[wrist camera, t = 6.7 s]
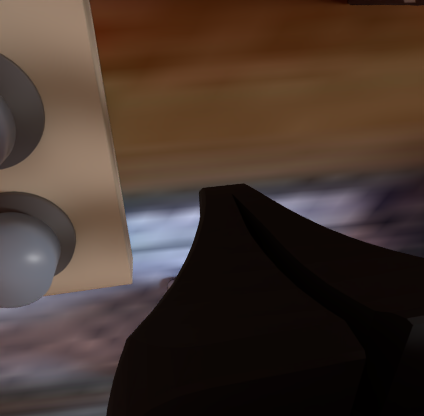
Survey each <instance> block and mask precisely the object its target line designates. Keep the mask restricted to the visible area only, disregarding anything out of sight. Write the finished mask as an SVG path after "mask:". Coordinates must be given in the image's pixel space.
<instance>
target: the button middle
mask: <svg viewBox="0 0 424 416" xmlns="http://www.w3.org/2000/svg"><path fill="white" fill-rule="evenodd" d="M15 139H16V127H15V122H14V118H13V115H12V112H11V110H10V108H9V107H8V105H7V103H6V102H5V100H4V99H3V98H2V96H1V95H0V165H1V164H2V163H3V161H4V160H5V159H6V158H7V157H8V156H9V154H10V153H11V151H12V149H13V146H14V143H15Z"/></svg>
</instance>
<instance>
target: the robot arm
mask: <svg viewBox="0 0 424 416" xmlns="http://www.w3.org/2000/svg"><path fill="white" fill-rule="evenodd" d="M199 201H200V221H199V225H198V228H197V232H196V235H195V238H194V241H193V244H192V247H191V249H190V252H189V254H188V256H187V258H186V260H185V262H184V264H183V266H182V268H181V270H180V272H179V273H178V275H177V277H176V279H175V280H171V281H170V282H169V283H168V286H167V287H168V291H167V292H166V293H165V295H164V296H163V298H162V299H161V300H160V302H159V303H158V304H157V306H156V307H155V308H154V310H153V311H152V312H151V313H150V314H149V315H148V316H147V318H146V319H145V320H144V321H143V322H142V323H141V324H140V325H139V326H138V327H137V329H136V330H135V331H134V332H133V333H132V334H131V335H130V336H129V337H128V338H127V340H126V343H125V346H124V349H123V352H122V354H121V357H120V360H119V363H118V367H117V370H116V373H115V377H114V380H113V384H112V388H111V393H110V398H109V403H108V408H107V415H106V416H424V258H422V257H417V256H413V255H409V254H405V253H401V252H397V251H393V250H389V249H386V248H383V247H379V246H376V245H373V244H369V243H366V242H363V241H360V240H357V239H354V238H351V237H349V236H346V235H343V234H341V233H338V232H336V231H333V230H331V229H328V228H326V227H324V226H321V225H319V224H317V223H315V222H313V221H311V220H309V219H307V218H305V217H303V216H300V215H299V214H297V213H295V212H293V211H291V210H289V209H287V208H286V207H284V206H282V205H280V204H279V203H277V202H275V201H273V200H272V199H270V198H268V197H267V196H265V195H263V194H262V193H260V192H258V191H257V190H255V189H253V188H251V187H250V186H248V185H246V184H235V185H226V186H216V187H207V188H202V189H201V190H200V191H199Z"/></svg>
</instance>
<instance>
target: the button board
mask: <svg viewBox="0 0 424 416" xmlns="http://www.w3.org/2000/svg"><path fill="white" fill-rule="evenodd" d="M0 95H1V96H2V98H3V99H4V100H5V102H6V103H7V105H8V107H9V108H10V110H11V112H12V115H13V118H14V122H15V127H16V139H15V143H14V146H13V149H12V151H11V153H10V154H9V156H8V157H7V158H6V159H5V160H4V161H3V163H2V164H1V165H0V213H4V212H17V213H23V214H27V215H30V216H33V217H36V218H38V219H40V220H41V221H43V222H44V223H46V224H47V225H48V226H49V227H50V228H51V229H52V230H53V231H54V232H55V234H56V235H57V237H58V239H59V242H60V246H61V254H60V258H59V261H58V264H57V267H56V271H55V274H54V277H53V280H52V283H51V286H50V288H49V290H48V291H47V292H46V294H45V295H44V296H49V295H56V294H63V293H70V292H77V291H84V290H91V289H98V288H105V287H112V286H120V285H127V284H132V271H133V257H132V251H131V245H130V239H129V234H128V228H127V222H126V216H125V210H124V204H123V198H122V192H121V186H120V180H119V174H118V168H117V163H116V157H115V151H114V145H113V139H112V133H111V127H110V121H109V115H108V109H107V103H106V97H105V91H104V86H103V80H102V74H101V68H100V62H99V56H98V50H97V44H96V38H95V32H94V26H93V20H92V15H91V9H90V3H89V0H0Z"/></svg>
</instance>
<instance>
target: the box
mask: <svg viewBox="0 0 424 416" xmlns="http://www.w3.org/2000/svg"><path fill="white" fill-rule="evenodd" d="M348 3H349V4H350V5H417V6H418V5H424V0H348Z"/></svg>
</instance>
